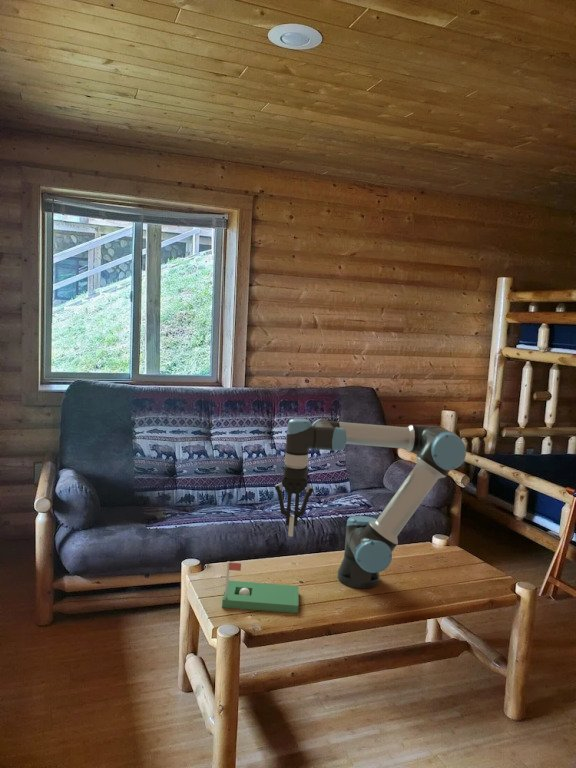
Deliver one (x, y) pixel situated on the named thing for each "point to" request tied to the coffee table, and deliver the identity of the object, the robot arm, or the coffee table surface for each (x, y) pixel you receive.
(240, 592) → the ball
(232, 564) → the pin
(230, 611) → the coffee table surface
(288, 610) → the green
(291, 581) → the coffee table surface
